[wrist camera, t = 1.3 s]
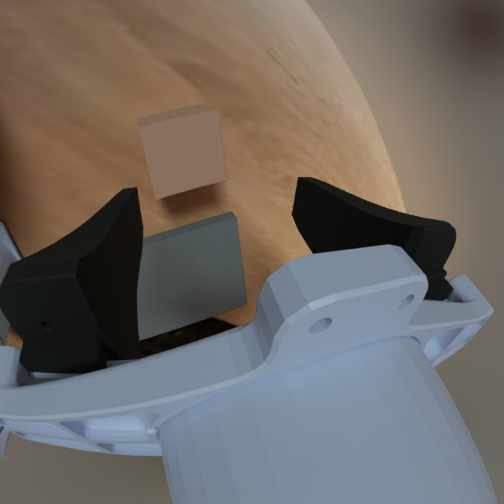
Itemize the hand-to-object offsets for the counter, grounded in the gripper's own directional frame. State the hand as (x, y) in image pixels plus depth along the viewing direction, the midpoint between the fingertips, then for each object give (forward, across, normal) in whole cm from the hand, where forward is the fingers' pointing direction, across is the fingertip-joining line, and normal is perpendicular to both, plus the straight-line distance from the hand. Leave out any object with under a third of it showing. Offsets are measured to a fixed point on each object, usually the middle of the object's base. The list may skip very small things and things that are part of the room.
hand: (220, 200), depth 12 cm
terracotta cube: (+11, +2, 0) cm, 11 cm away
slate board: (+10, +5, +15) cm, 18 cm away
